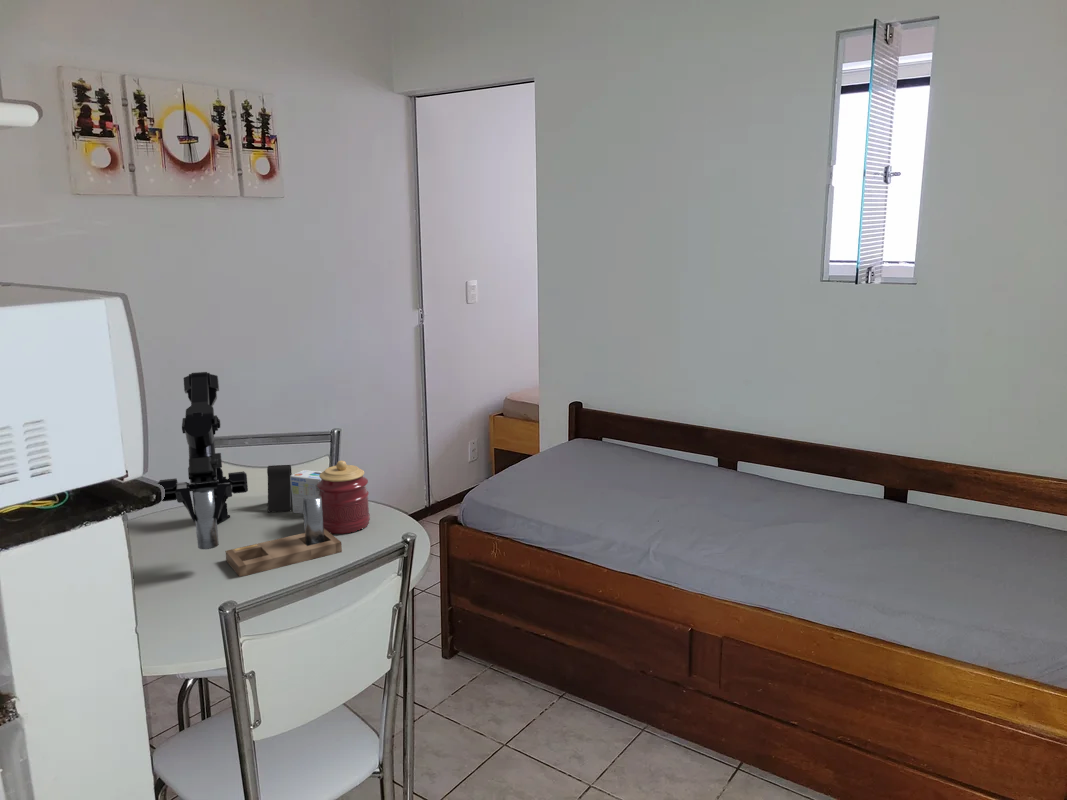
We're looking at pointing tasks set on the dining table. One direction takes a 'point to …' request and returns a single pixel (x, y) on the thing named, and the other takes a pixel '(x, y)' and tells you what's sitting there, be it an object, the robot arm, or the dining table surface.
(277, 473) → the phone stand
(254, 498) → the dining table surface
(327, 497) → the canister
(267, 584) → the dining table surface
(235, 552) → the wooden slotted holder
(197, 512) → the cylinder
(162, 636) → the dining table surface
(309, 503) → the cylinder
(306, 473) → the light bulb box
